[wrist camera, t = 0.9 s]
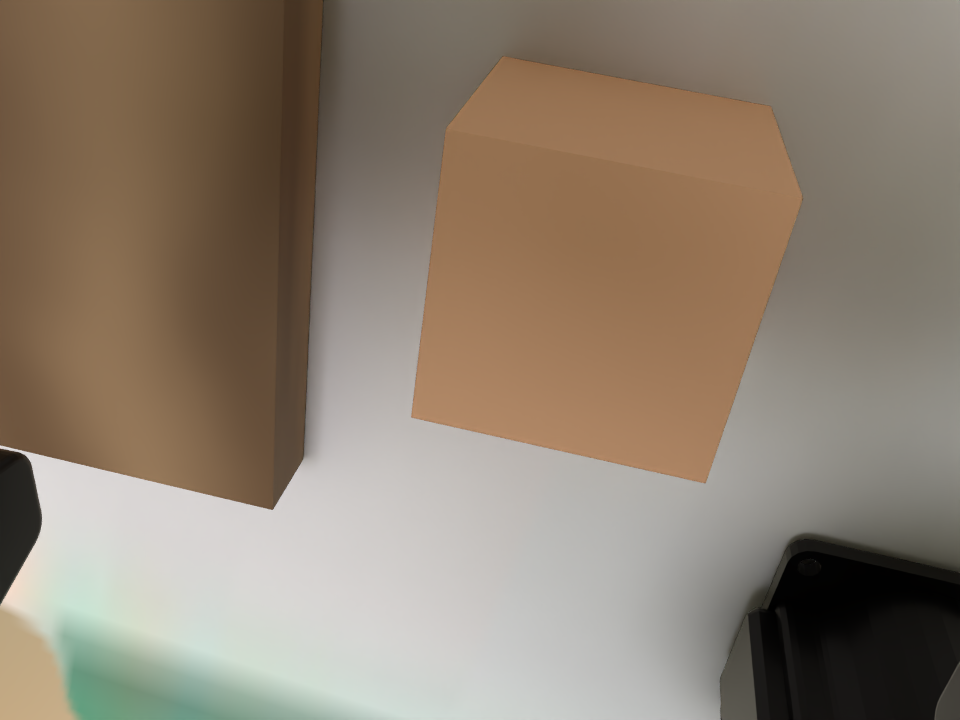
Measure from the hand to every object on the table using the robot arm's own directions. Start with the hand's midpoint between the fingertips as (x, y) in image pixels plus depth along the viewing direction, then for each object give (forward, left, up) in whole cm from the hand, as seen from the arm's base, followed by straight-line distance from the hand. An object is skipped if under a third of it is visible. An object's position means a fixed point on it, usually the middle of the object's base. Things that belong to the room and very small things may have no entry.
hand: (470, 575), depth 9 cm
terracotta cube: (-1, 0, -11) cm, 11 cm away
